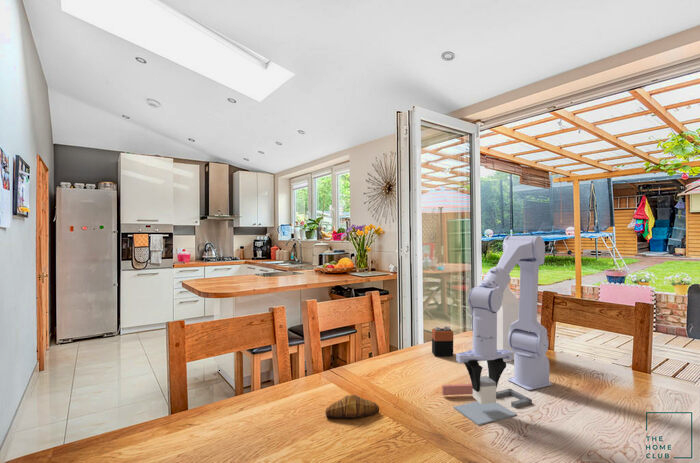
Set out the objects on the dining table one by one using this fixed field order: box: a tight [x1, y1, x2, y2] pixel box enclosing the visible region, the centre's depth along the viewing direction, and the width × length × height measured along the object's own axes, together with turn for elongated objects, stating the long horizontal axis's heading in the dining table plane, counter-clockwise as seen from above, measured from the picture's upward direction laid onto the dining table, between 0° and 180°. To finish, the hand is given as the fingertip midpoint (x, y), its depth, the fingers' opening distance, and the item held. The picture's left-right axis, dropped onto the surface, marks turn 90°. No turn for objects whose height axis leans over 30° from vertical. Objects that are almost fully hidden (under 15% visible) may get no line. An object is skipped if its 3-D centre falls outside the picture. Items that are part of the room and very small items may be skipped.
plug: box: [472, 375, 497, 404], centre depth 91 cm, size 4×4×5 cm
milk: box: [497, 282, 519, 363], centre depth 133 cm, size 12×12×26 cm
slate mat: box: [453, 400, 518, 426], centre depth 91 cm, size 12×9×1 cm
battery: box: [431, 326, 454, 357], centre depth 132 cm, size 4×7×10 cm, turn 93°
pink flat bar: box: [441, 383, 473, 396], centre depth 100 cm, size 1×14×3 cm, turn 95°
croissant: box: [325, 394, 380, 419], centre depth 90 cm, size 14×7×5 cm, turn 100°
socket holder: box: [496, 388, 533, 409], centre depth 98 cm, size 6×7×1 cm
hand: (484, 389), depth 91 cm, fingers closed on plug, 4 cm apart
